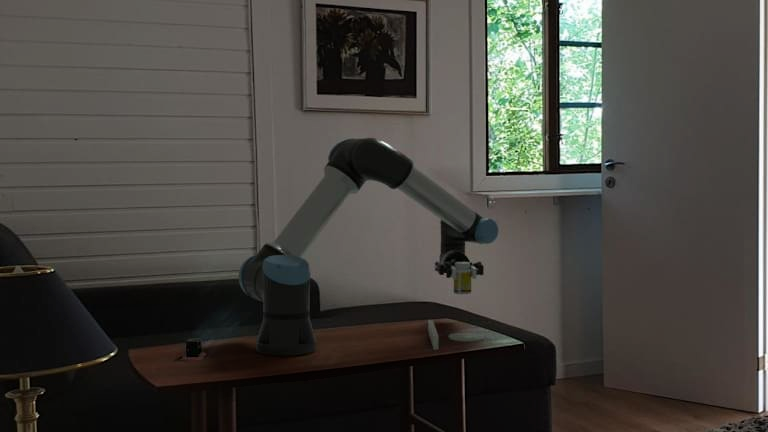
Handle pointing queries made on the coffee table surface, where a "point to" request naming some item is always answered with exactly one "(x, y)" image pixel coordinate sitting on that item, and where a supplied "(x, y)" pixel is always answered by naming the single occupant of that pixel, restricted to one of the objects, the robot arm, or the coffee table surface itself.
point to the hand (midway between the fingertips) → (464, 273)
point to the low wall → (433, 334)
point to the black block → (193, 347)
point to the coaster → (465, 337)
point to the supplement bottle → (462, 278)
